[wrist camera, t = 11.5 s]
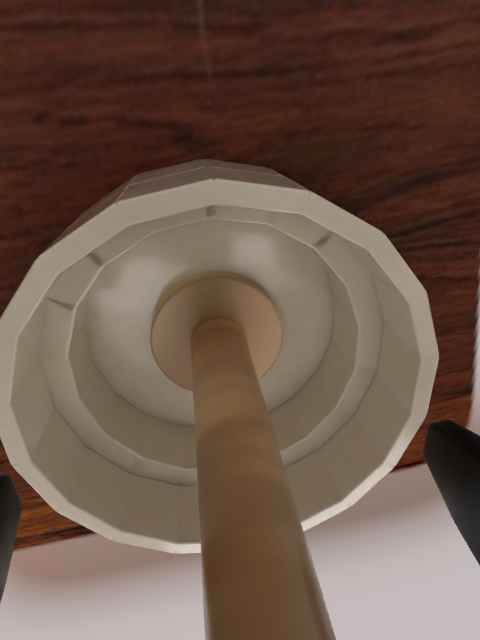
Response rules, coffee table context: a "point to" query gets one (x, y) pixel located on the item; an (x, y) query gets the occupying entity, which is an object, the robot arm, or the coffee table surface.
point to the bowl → (178, 404)
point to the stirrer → (239, 461)
